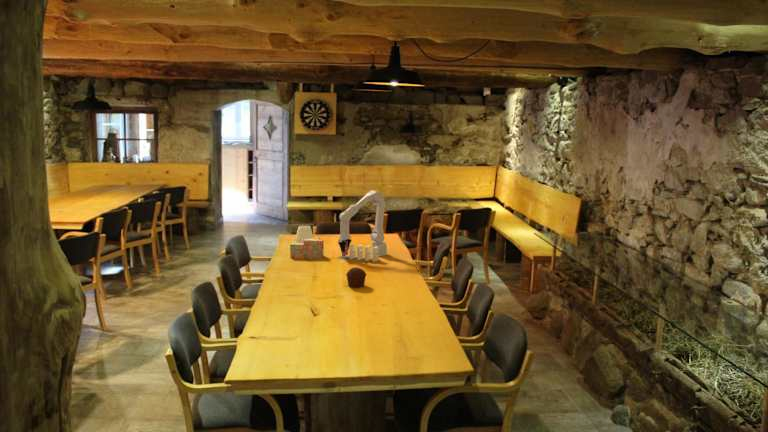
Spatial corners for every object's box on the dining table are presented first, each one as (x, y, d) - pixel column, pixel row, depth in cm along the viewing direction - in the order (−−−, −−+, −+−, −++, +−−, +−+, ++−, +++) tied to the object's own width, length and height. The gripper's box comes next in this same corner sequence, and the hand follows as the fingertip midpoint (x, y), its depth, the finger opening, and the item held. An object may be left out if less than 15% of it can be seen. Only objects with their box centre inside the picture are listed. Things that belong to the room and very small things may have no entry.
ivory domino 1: (355, 257, 403) (355, 244, 401) (352, 259, 398) (352, 245, 397) (352, 257, 403) (352, 244, 402) (349, 258, 399) (349, 245, 397)
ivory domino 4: (378, 260, 396) (378, 246, 395) (375, 261, 392) (375, 248, 390) (375, 259, 397) (375, 246, 396) (372, 261, 393) (372, 247, 391)
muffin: (368, 288, 335) (368, 270, 333) (349, 289, 332) (349, 271, 330) (363, 282, 346) (363, 265, 344) (344, 283, 343) (344, 266, 341)
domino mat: (380, 260, 397) (380, 259, 397) (375, 263, 390) (375, 262, 390) (342, 256, 408) (342, 255, 408) (336, 259, 401) (336, 258, 401)
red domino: (347, 254, 404) (347, 241, 403) (344, 256, 400) (344, 242, 398) (345, 254, 405) (345, 241, 404) (341, 255, 401) (341, 242, 399)
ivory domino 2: (363, 258, 401) (363, 245, 399) (359, 260, 396) (359, 246, 394) (360, 258, 401) (360, 244, 400) (357, 259, 397) (356, 246, 395)
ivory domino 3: (370, 259, 398) (370, 245, 397) (367, 260, 394) (367, 247, 392) (367, 258, 399) (367, 245, 398) (364, 260, 395) (364, 247, 393)
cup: (317, 246, 440) (317, 227, 437) (300, 248, 432) (300, 229, 430) (308, 242, 451) (308, 224, 448) (292, 245, 443) (291, 226, 441)
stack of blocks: (290, 258, 403) (289, 239, 401) (292, 256, 410) (292, 238, 408) (322, 259, 402) (321, 240, 400) (323, 256, 408) (323, 238, 406)
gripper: (344, 228, 408) (344, 248, 410) (334, 232, 395) (334, 252, 397) (353, 229, 405) (353, 249, 408) (344, 233, 392) (344, 253, 394)
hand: (344, 251), depth 402 cm, fingers closed on red domino, 5 cm apart
